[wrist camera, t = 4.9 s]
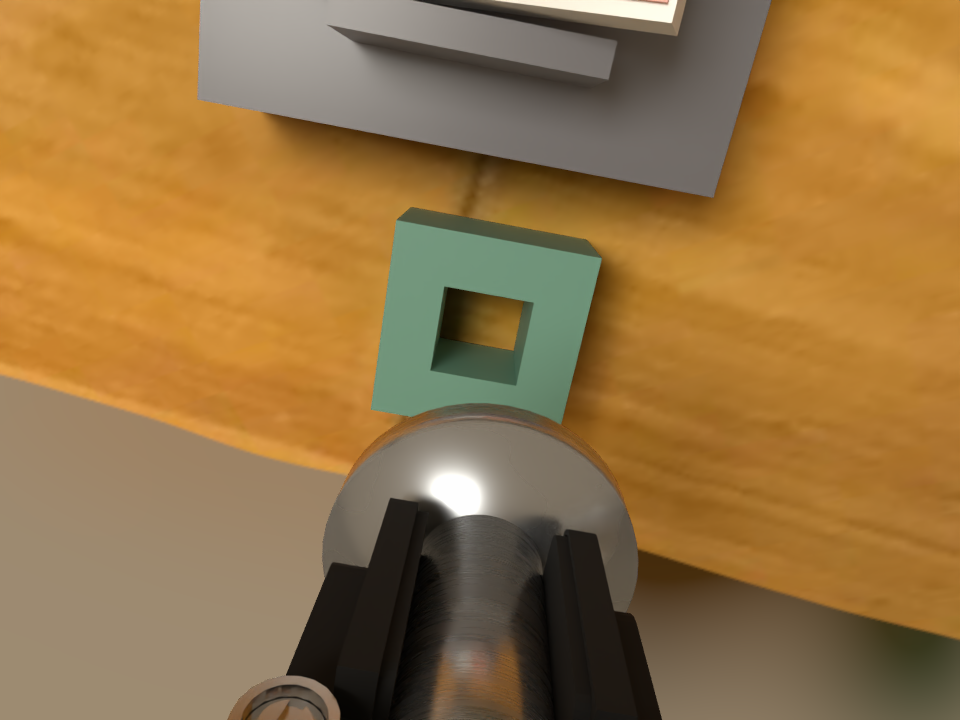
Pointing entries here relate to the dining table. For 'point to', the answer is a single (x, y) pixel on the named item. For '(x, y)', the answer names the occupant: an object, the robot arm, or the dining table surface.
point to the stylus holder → (490, 270)
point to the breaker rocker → (590, 12)
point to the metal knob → (482, 550)
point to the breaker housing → (495, 80)
